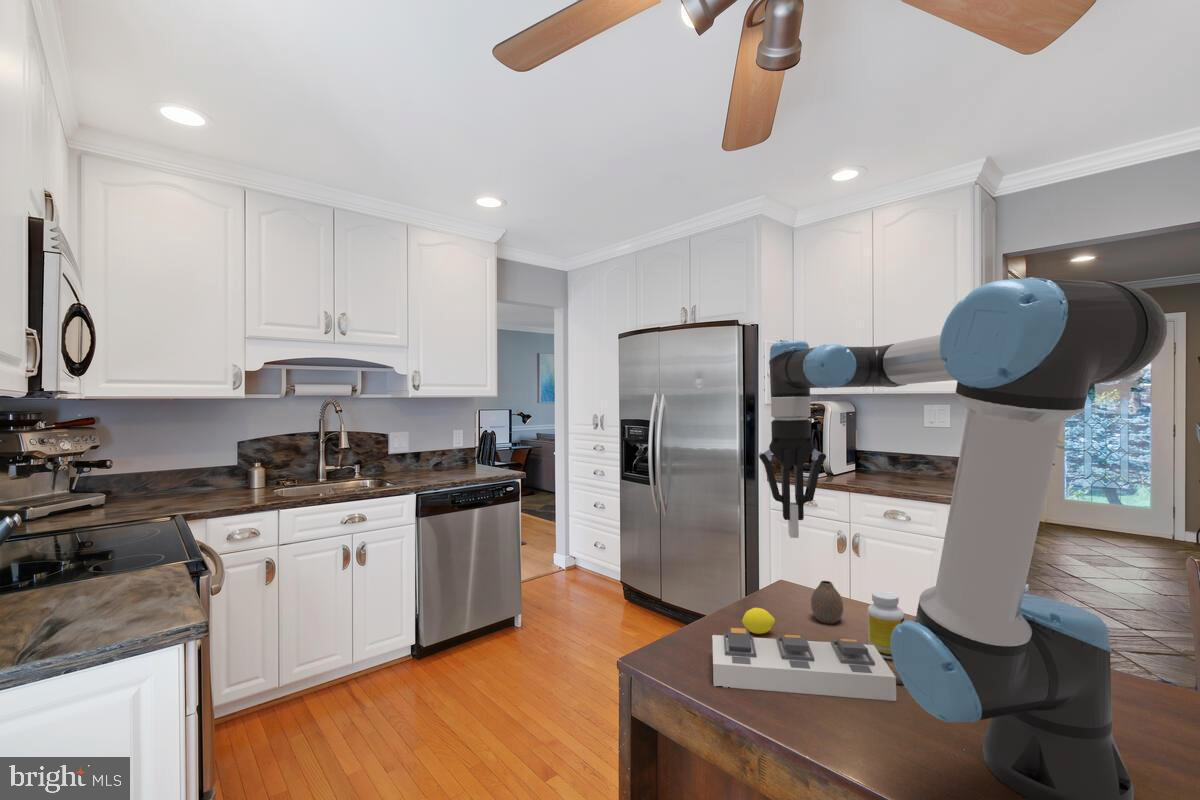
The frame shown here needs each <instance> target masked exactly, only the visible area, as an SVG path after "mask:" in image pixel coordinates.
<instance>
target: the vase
mask: <svg viewBox="0 0 1200 800" xmlns="http://www.w3.org/2000/svg"><path fill="white" fill-rule="evenodd" d="M810 608H811V612H812V615H813V616H814V617H815V618H816V620H818V621H819V622H821V623H823V624H829V625H830V624H832V625H833V624H836V623H837V622H839V621H840V620H841V619H842V616H843V614H844V602H843V598H842V596H841V594H840V593H839V592H838V590H837V589H836V588H835V587H834V584H833V583H832V581H829V580H821V581H820V583H819V584H818V585H817V587H816V588H815V589H814V591H813V592H812V594H811V598H810Z"/></svg>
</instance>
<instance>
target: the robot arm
mask: <svg viewBox="0 0 1200 800" xmlns="http://www.w3.org/2000/svg"><path fill="white" fill-rule="evenodd" d="M1167 334H1168V322H1167V318H1166V315H1165V312H1164V311H1163V309H1162V307H1161V306H1160V304H1159V303H1158V302H1157V301H1156V300H1155V299H1154V298H1153V297H1152V296H1151V295H1150V294H1148V293H1146V292H1145V291H1144V290H1141V289H1140V288H1138V287H1136V286H1133V285H1130V284H1127V283H1123V282H1119V281H1110V280H1077V279H1076V280H1074V279H1059V278H1058V279H1056V278H1055V279H1054V278H1039V277H1032V276H1030V277H1026V278H1024V277H1023V278H1012V279H1009V278H1008V279H1000V280H996V281H991V282H987V283H984V284H983V285H980V286H978V287H977V288H974V289H973V290H971V291H970V292H969V293H968V295H966V296H965V297H964V298H962V299H960V300H959V301H958V302H957V303H956V304H955V306H954V307H953V308H952V309H951V311H950V312H949V313H948V315H947V317H946V319H945V322H944V324H943V327H942V328H941V333H940V334H939V335H932V336H927V337H922V338H918V339H912V340H905V341H902V342H897V343H891V344H886V345H879V346H844V345H841V344H820V345H819V346H815V347H811V348H810V345H809V343H808V342H807V341H806V340H805V341H803V340H790V341H789V340H788V341H787V340H786V341H779V342H774V343H773V344H772V345H771V346H770V351H769V362H768V365H769V380H770V381H769V384H770V385H769V387H770V414H771V415H770V416H771V418H773V419H772V421H771V425H770V426H771V428H770V429H771V441H770V444H769V446H768V449H767V450H765V451H763V452H759V453H758V458H759V459H760V461H761V462H762V464H763V465H764V470H765V472H766V476H767V480H768V483H769V484H768V485H769V488H770V491H771V495H772V498H773V499H774V500H775V501H776V502H780V503H781V505H782V518H783V519H784V520H785V521H787V522H788V523H787V524H788V525H787V526H788V527H787V529H788V535H789V537H790V539H795V538H796V539H799V536H800V535H799V521H804V518H805V516H804V515H805V514H804V513H805V512H804V511H805V509H804V505H805V504H806V503H808V502H813V500H814V498H815V493H816V489H817V484H818V481H819V477H820V470H821V467H822V465H823V463H824V461H825V460H826V459H827V454H825V453H823V452H821V451H818V450H817V449H816V448H815V445H814V443H813V441H812V421H811V420H810V419H808V418H809V417H811V416H812V415H811V414H812V413H811V389H821V388H822V389H828V388H829V389H834V388H835V389H836V388H863V387H864V388H865V387H867V388H868V387H869V388H870V387H872V388H874V387H875V388H876V387H878V388H879V387H880V388H882V387H883V388H884V387H885V388H897V387H902V386H907V385H911V384H913V385H914V384H915V385H916V384H924V383H925V384H927V383H936V382H937V383H938V382H949V381H950V382H951V381H957V382H956V387H955V396H956V397H957V398H958V399H959V401H961V402H962V404H963V405H964V406H965V407H966V409H967V413H966V419H965V423H964V428H963V429H964V430H963V434H962V435H963V436H962V439H961V446H960V452H959V456H958V462H957V466H956V467H957V468H956V472H955V473H956V474H955V479H954V482H953V483H954V484H953V489H952V495H951V499H950V500H951V501H950V506H949V512H948V517H947V522H946V523H947V524H946V528H945V533H944V540H943V545H942V550H941V554H940V555H941V557H940V561H939V567H938V571H937V576H936V577H937V578H936V583H935V586H932V587H929V588H926V589H925V590H924V591H922V592H921V593H920V595H919V600H918V604H917V609H916V614H915V619H913V620H910V619H906V620H904V622H902V623H901V624H898V625H897V626H896V627H895V628H894V629H893V632H892V634H891V641H890V644H891V653H892V658H893V659H892V661H893V665H894V667H895V670H896V672H897V673H898V676H899V678H901V680H902V682H903V684H902V685H903V686H904V687H905V689H906V691H907V692H908V693H909V695H910V696H911V697H912V699H913V700H914V701H915V702H916V703H917V704H918V705H919V707H921V708H922V709H923V710H924V711H925V712H926V713H928V714H929V715H930V716H932V717H934V718H936V719H937V720H941V721H943V722H947V723H966V722H967V723H977V722H979V721H983V720H988V719H990V720H989V723H988V726H987V728H986V729H985V730H986V731H985V733H984V736H983V739H982V749H983V751H982V752H983V753H982V754H983V755H982V756H983V757H982V758H983V762H985V764H986V766H987V768H988V770H990V772H991V773H992V774H993V776H995V777H996V778H997V779H998V780H999V781H1000V782H1002V783H1003V784H1004V785H1006V786H1007V787H1008V788H1010V789H1012V790H1013V791H1014V792H1016V793H1018V794H1020V795H1021V796H1023V797H1024V798H1026V799H1028V800H1134V799H1135V796H1134V794H1135V793H1134V786H1133V782H1132V779H1131V778H1130V774H1129V773H1128V770H1127V768H1126V764H1125V763H1124V761H1123V758H1122V755H1121V753H1120V751H1119V749H1118V745H1117V744H1116V741H1115V738H1114V737H1113V736H1114V735H1113V724H1112V723H1113V722H1112V721H1113V719H1112V717H1113V716H1112V715H1113V714H1112V712H1113V711H1112V709H1113V708H1112V673H1111V671H1112V669H1111V653H1112V652H1113V649H1112V647H1111V646H1110V645H1111V644H1110V634H1109V628H1108V626H1107V624H1106V623H1105V622H1104V620H1103V619H1101V617H1099V616H1098V615H1097V614H1096V613H1093V612H1091V611H1089V610H1087V609H1085V608H1084V609H1083V608H1081V607H1078V606H1075V605H1073V604H1070V603H1067V602H1064V601H1060V600H1056V599H1052V598H1048V597H1043V596H1039V595H1034V594H1028V593H1025V589H1026V585H1027V580H1028V576H1029V571H1030V566H1031V564H1032V562H1031V561H1032V557H1033V554H1034V553H1033V552H1034V549H1035V544H1036V540H1037V536H1038V531H1039V527H1040V522H1041V517H1042V513H1043V509H1044V508H1043V507H1044V504H1045V500H1046V499H1045V498H1046V496H1047V495H1046V494H1047V491H1048V485H1049V482H1050V476H1051V473H1052V468H1053V463H1054V460H1055V455H1056V450H1057V446H1058V441H1059V437H1060V431H1061V427H1062V425H1063V423H1064V422H1065V421H1066V420H1068V419H1070V418H1072V417H1074V416H1076V415H1078V414H1079V413H1082V412H1084V409H1085V406H1086V402H1087V397H1088V393H1089V388H1090V386H1091V385H1098V384H1106V383H1111V382H1116V381H1119V380H1123V379H1125V378H1128V377H1130V376H1132V375H1135V374H1136V373H1138V372H1140V371H1141V370H1143V369H1144V368H1146V367H1147V366H1148V365H1150V364H1152V362H1153V361H1154V359H1156V357H1158V355H1159V354H1160V352H1161V350H1162V348H1163V347H1164V345H1165V343H1166V339H1167ZM772 455H773V456H774V457H775V458H776V460H777V462H778V463H780V470H781V473H780V474H781V477H780V479H781V494H780V490H779V487H778V482H777V479H776V476H775V472H774V469H773V464H772V460H773V457H772ZM809 457H811V460H812V463H811V465H810V470H809V474H808V475H809V476H808V479H807V483H806V488H804V464H805V463H806V461H807V460H808V459H809ZM791 465H792V466H793V468H794V469H793V470H794V472H793V473H794V500H795V502H791V484H790V483H791V478H790V477H791V476H790V471H791ZM804 490H805V491H804Z"/></svg>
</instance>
